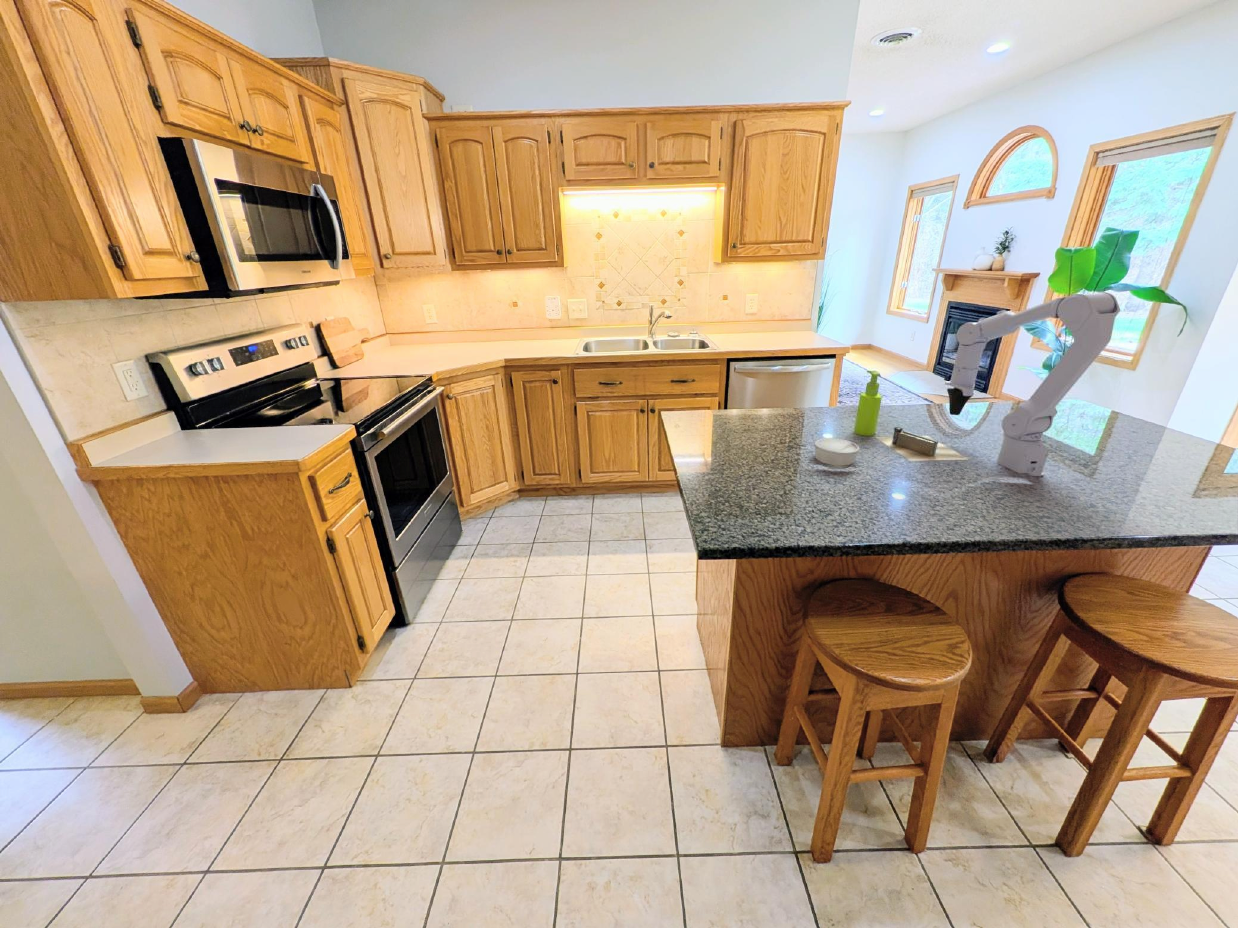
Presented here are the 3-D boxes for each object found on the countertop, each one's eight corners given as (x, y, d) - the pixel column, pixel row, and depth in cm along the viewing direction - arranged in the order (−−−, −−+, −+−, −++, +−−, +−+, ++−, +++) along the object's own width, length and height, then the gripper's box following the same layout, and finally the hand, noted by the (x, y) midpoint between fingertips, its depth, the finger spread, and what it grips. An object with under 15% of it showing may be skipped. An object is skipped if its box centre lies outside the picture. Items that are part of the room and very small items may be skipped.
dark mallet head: (888, 443, 145) (892, 428, 143) (894, 441, 146) (897, 426, 144) (929, 456, 135) (933, 440, 133) (935, 455, 136) (939, 439, 134)
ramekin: (860, 472, 130) (864, 453, 128) (815, 469, 132) (818, 451, 130) (851, 456, 140) (854, 438, 138) (809, 454, 142) (811, 436, 140)
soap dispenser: (868, 431, 158) (880, 369, 150) (877, 439, 152) (889, 374, 144) (849, 431, 159) (860, 369, 151) (857, 439, 152) (868, 374, 145)
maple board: (968, 463, 133) (969, 459, 133) (909, 464, 133) (910, 460, 133) (926, 439, 151) (927, 435, 150) (874, 440, 151) (874, 437, 150)
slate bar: (900, 444, 144) (903, 431, 142) (902, 443, 144) (904, 430, 143) (933, 455, 135) (936, 441, 134) (935, 455, 136) (938, 441, 134)
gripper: (943, 361, 145) (932, 406, 150) (956, 371, 132) (944, 420, 138) (971, 362, 143) (959, 408, 148) (987, 373, 130) (974, 422, 135)
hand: (954, 414), depth 143 cm, fingers closed
